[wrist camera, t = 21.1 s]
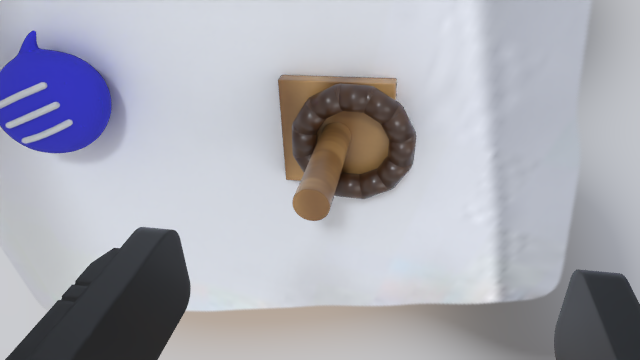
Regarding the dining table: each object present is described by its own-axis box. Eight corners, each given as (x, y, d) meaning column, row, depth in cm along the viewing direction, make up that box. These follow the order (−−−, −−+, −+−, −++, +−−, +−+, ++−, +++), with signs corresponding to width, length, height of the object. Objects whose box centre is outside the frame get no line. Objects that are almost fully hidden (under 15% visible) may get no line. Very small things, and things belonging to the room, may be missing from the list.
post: (289, 173, 43) (250, 254, 33) (281, 74, 38) (233, 136, 29) (391, 180, 41) (380, 267, 32) (396, 78, 36) (385, 145, 27)
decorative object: (35, 44, 33) (109, 161, 39) (83, 13, 38) (144, 121, 43) (-71, 68, 36) (12, 172, 42) (-15, 37, 41) (53, 134, 47)
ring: (296, 183, 42) (290, 195, 40) (293, 76, 37) (287, 85, 35) (408, 195, 40) (407, 208, 39) (422, 85, 35) (421, 95, 33)
